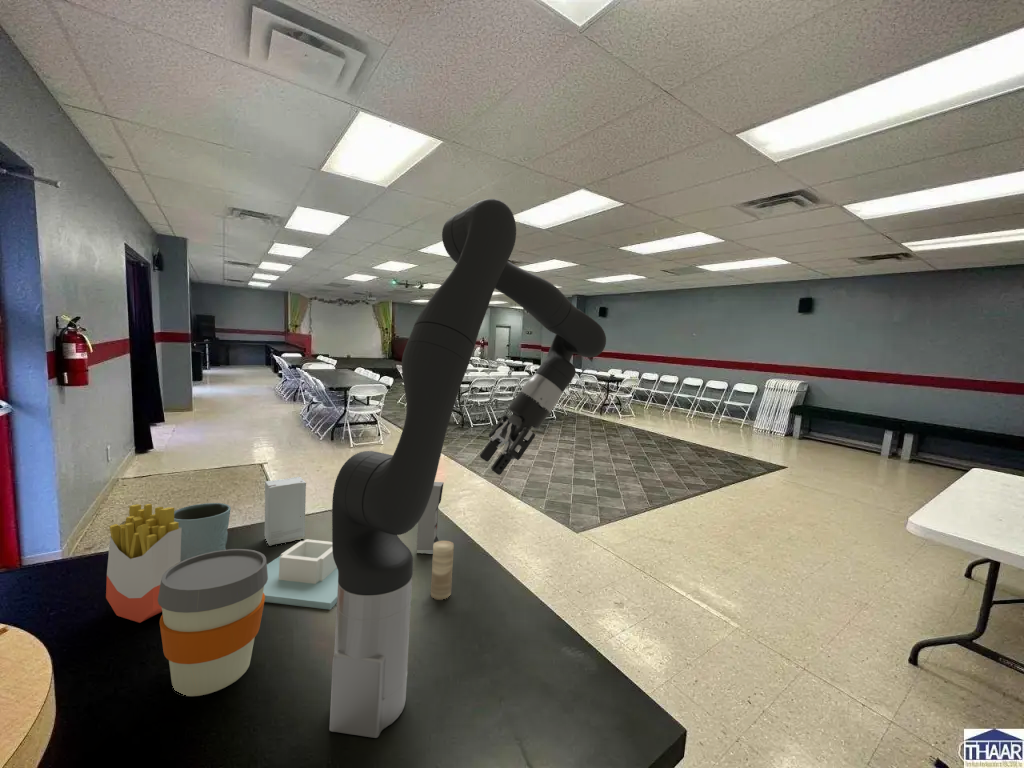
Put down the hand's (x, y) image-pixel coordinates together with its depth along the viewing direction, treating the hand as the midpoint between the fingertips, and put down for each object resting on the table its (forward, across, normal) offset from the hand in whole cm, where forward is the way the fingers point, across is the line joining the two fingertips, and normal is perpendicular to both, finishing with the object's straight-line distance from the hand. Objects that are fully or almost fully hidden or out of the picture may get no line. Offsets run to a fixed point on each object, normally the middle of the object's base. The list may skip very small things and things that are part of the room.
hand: (488, 465), depth 84 cm
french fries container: (+54, -5, -34) cm, 64 cm away
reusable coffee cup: (+45, +14, -22) cm, 51 cm away
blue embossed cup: (+54, -21, -31) cm, 65 cm away
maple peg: (+26, +1, +8) cm, 27 cm away
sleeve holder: (+40, -12, -13) cm, 44 cm away
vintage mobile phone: (+27, -18, +9) cm, 34 cm away
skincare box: (+46, -32, -19) cm, 59 cm away
